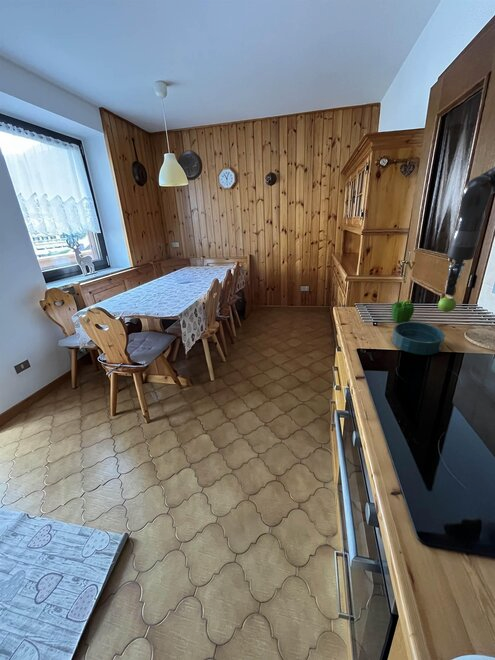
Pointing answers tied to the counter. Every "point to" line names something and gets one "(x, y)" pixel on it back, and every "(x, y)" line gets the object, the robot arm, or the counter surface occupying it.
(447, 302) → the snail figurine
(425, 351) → the bowl
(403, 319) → the bell pepper
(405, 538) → the counter surface
